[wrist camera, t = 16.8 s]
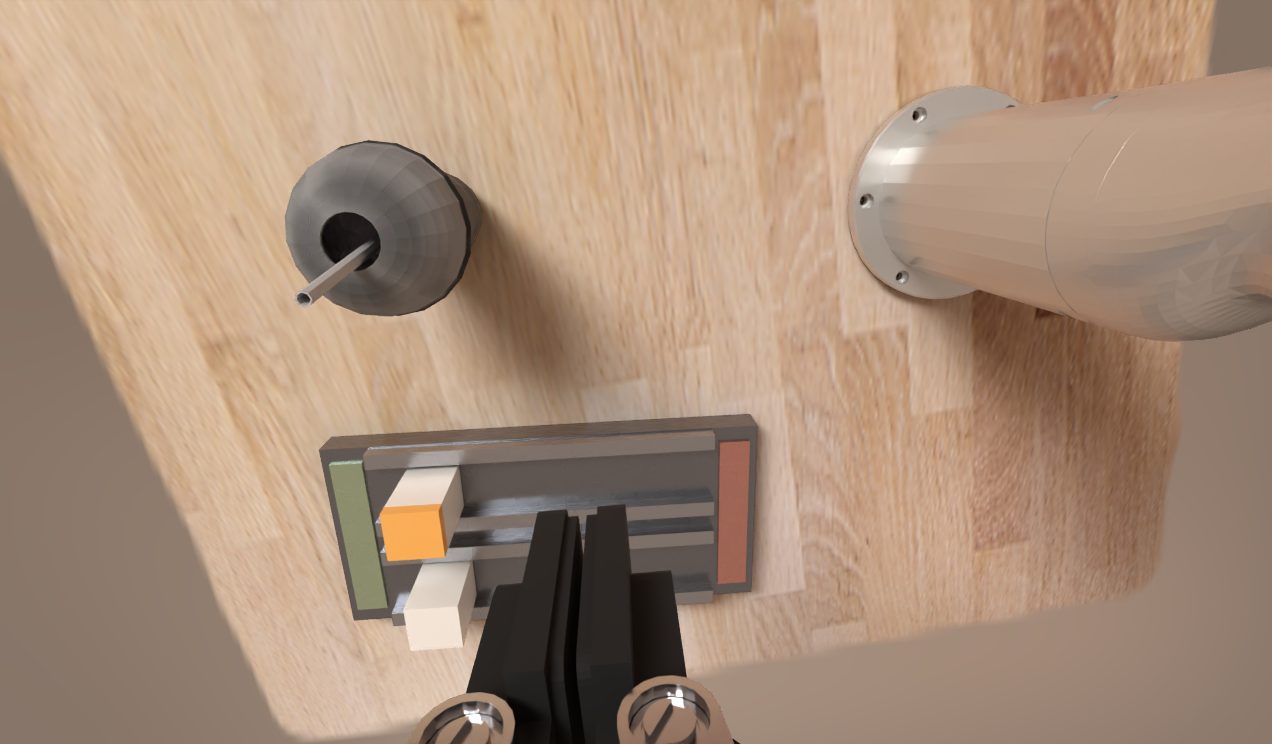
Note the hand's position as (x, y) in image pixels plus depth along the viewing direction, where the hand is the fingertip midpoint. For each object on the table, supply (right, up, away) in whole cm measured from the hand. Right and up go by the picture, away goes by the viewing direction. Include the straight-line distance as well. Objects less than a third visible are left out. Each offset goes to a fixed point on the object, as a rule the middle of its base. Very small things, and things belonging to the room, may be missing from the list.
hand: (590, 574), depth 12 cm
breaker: (-12, -10, +31) cm, 34 cm away
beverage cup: (-11, +13, +26) cm, 31 cm away
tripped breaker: (-12, -4, +28) cm, 31 cm away
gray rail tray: (-5, -6, +32) cm, 33 cm away
